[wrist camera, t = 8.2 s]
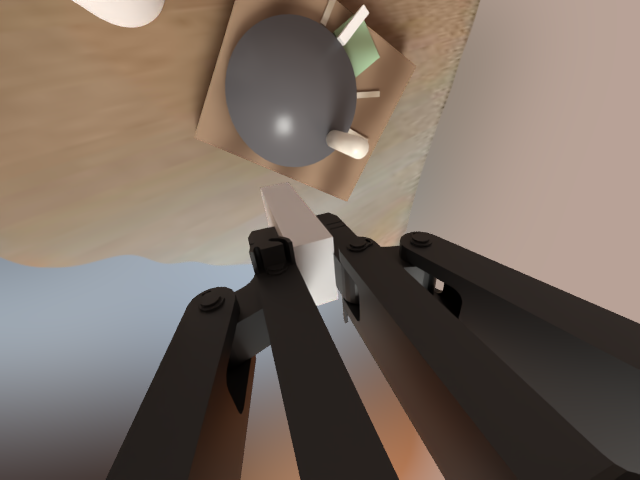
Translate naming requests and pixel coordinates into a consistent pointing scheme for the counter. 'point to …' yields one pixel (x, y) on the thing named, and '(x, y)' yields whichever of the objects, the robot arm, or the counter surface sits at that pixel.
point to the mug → (124, 11)
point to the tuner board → (371, 80)
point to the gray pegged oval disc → (294, 90)
